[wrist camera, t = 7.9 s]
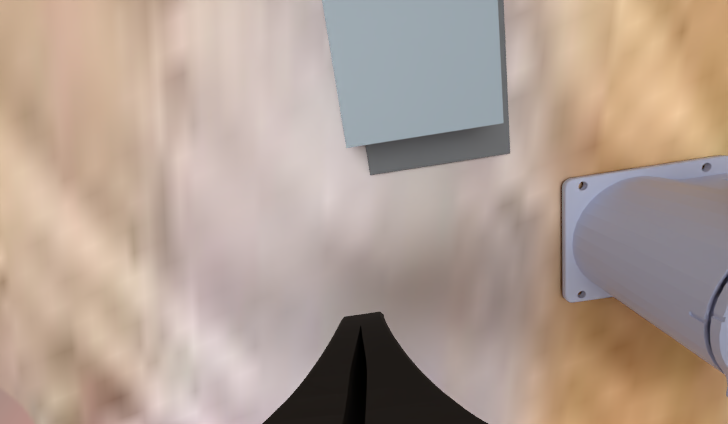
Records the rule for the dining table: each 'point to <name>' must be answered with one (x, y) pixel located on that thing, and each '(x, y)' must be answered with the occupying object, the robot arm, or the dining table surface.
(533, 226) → the dining table surface
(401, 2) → the slab
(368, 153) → the flat gray panel
